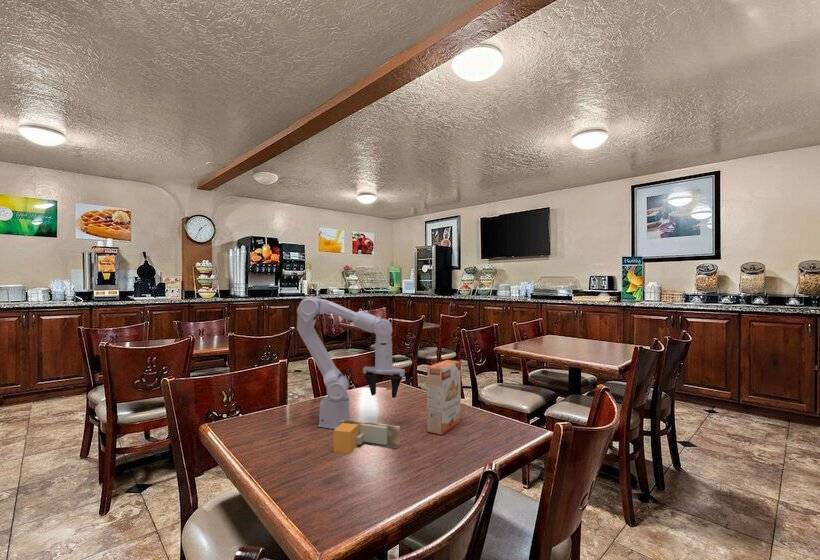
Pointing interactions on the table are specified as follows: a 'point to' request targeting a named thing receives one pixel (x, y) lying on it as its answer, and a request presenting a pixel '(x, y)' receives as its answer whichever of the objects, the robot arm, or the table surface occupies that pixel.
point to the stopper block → (345, 438)
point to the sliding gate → (372, 434)
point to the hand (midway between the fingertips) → (383, 395)
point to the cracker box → (443, 396)
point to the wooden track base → (392, 433)
